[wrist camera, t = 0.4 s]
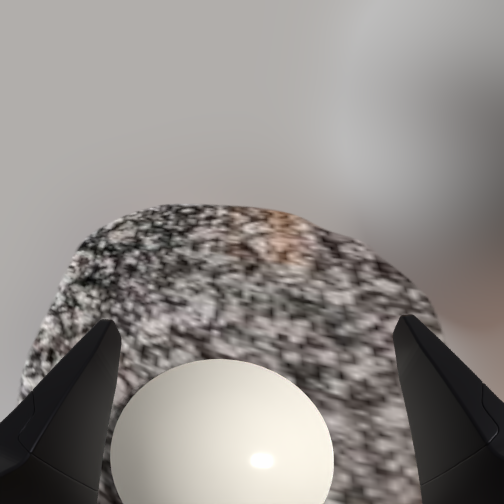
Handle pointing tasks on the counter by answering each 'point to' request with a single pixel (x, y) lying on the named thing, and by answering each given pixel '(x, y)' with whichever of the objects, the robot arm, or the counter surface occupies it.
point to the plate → (221, 439)
